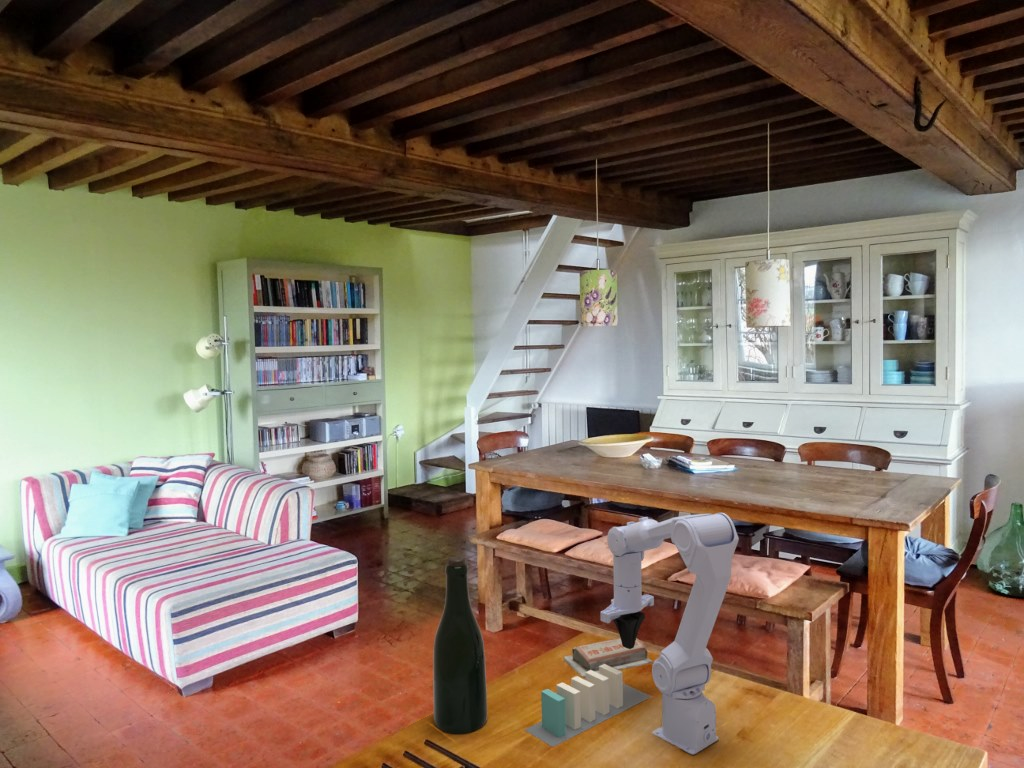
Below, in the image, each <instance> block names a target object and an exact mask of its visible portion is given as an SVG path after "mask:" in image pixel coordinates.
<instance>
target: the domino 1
mask: <svg viewBox="0 0 1024 768" xmlns="http://www.w3.org/2000/svg"><path fill="white" fill-rule="evenodd" d="M540 694H541V696H540V697H541V700H540V701H541V721H542V727H544V728H545V729H547V730H548V731H550V732H551V733H553V734H554V735H556V736H558V737H561V736H563V735H565V698H563V697H561V696H559V695H558V694H557V692H554V691H552V690H550V689H549V688H546V689H544V690H541V692H540Z"/></svg>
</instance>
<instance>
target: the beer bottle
mask: <svg viewBox="0 0 1024 768" xmlns="http://www.w3.org/2000/svg"><path fill="white" fill-rule="evenodd" d="M465 559H466V558H465V557H464V556H459V555H456V556H451V557H448V558H447V564H445V569H444V571H445V585H446V586H445V599H444V600H445V601H444V605H443V606H444V608H443V611H442V613H441V617H440V621H439V623H438V626H437V629H436V632H435V636H434V641H433V652H432V653H433V655H432V657H433V658H432V662H433V663H432V664H433V665H432V667H433V668H432V673H433V674H432V675H433V676H432V678H433V680H432V681H433V685H432V687H433V689H432V690H433V692H432V693H433V719H434V724H435V726H436V728H438V729H439V730H440V731H442V732H444V733H448V734H452V735H464V734H465V735H466V734H470V733H472V732H475V731H478V730H480V729H481V728H482V727H483V726H484V725H485V724H486V722H487V720H488V699H487V698H488V696H487V695H488V694H487V692H488V691H487V677H486V676H487V675H486V672H487V671H486V670H487V669H486V654H485V644H484V643H485V642H484V639H483V634H482V631H481V628H480V625H479V624H478V621H477V618H476V617H475V613H474V611H473V608H472V605H471V604H472V603H471V599H470V593H469V582H468V581H469V579H468V576H469V575H468V573H469V567H468V563H466V560H465Z"/></svg>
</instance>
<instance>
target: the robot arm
mask: <svg viewBox="0 0 1024 768" xmlns="http://www.w3.org/2000/svg"><path fill="white" fill-rule="evenodd" d="M606 539H607V545H608V549H609V551H610V553H612V554H613V555H612V557H613V560H612V561H613V568H612V569H613V598H612V599H610V603H611V604H610V605H608V606H607V607H606V608H605V609H604V610H601V611H600V621H601V622H603V623H606V624H610V623H611V622H612V621H613V623H614V625H615V626H616V629H617V631H618V634H619V638H621V642H622V645H623V647H625V648H628V649H632V648H634V645H635V641H636V638H637V636H638V633H639V630H640V628H641V625H642V623H643V622H644V620H645V616H646V615H645V613H644V612H643V611H642V610H643V609H644V608H646V607H653V606H654V605H655V598H654V595H650V594H647V593H646V594H642V591H643V589H642V588H643V587H642V562H643V561H644V558H645V551H648V550H654V549H658V548H659V547H661V546H662V544H663V543H664V540H665V539H666V540H667V539H671V542H672V544H673V545H675V548H676V549H677V551H678V553H679V555H680V557H681V559H682V561H683V562H684V564H685V567H686V568H687V570H688V572H690V573H692V574H694V575H696V576H695V579H694V581H693V585H692V587H691V590H690V594H689V597H688V600H687V603H686V606H685V609H684V611H683V614H682V617H681V620H680V624H679V627H678V628H677V629H678V630H677V633H676V635H675V638H674V641H673V642H671V643H670V644H668V646H666V647H664V648H663V649H662V650H661V651H660V654H659V655H658V657H657V658H656V659H654V661H653V663H652V665H651V666H652V669H651V675H652V680H653V683H654V685H655V686H656V688H657V689H658V691H660V692H661V700H662V701H661V703H662V704H661V705H662V706H661V717H662V719H661V721H662V722H661V723H662V724H661V725H662V726H661V727H658V728H656V729H655V730H653V731H652V735H653V736H656V737H658V738H659V739H661V740H664V741H666V742H668V743H669V744H672V745H673V746H675V747H677V748H679V749H681V751H684V752H685V753H688V754H690V755H692V756H694V755H696V754H698V753H699V752H700V751H703V750H704V749H705V748H707V747H709V746H710V745H712V744H713V743H715V742H717V741H719V736H718V735H717V710H716V705H715V703H714V701H712V700H710V699H709V698H708V697H706V696H705V694H704V693H703V692H704V691H706V687H705V685H706V684H708V683H709V682H710V681H711V677H712V663H713V660H714V658H713V656H712V654H711V652H710V651H709V649H708V648H707V645H708V643H709V640H710V637H711V635H712V631H713V630H714V629H713V628H714V626H715V623H716V621H717V618H718V615H719V612H720V609H721V607H722V604H723V601H724V599H725V596H726V594H727V593H726V592H727V590H728V587H729V585H730V582H731V576H732V563H733V558H734V554H735V550H736V549H737V546H738V543H739V540H740V538H739V535H738V532H737V530H736V527H735V524H734V521H732V519H731V517H730V516H729V515H728V514H726V513H724V512H716V513H714V514H712V513H699V514H697V513H696V514H687V515H681V516H675V517H671V518H669V519H666V520H663V521H660V522H658V521H657V520H655V519H653V518H649V516H645V517H644V516H643V517H639V518H638V521H637V522H635V521H627V522H626V525H623V526H622V525H621V526H612V527H611V528H610V529H609V530H608V532H607V538H606Z"/></svg>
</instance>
